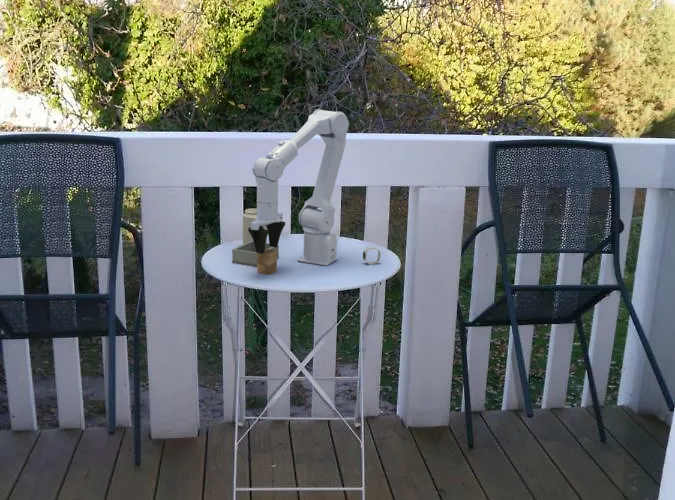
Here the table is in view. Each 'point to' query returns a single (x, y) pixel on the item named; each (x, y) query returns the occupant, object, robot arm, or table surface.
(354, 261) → the table surface
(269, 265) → the walnut block
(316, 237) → the robot arm
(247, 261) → the bin
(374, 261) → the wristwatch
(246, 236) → the can
